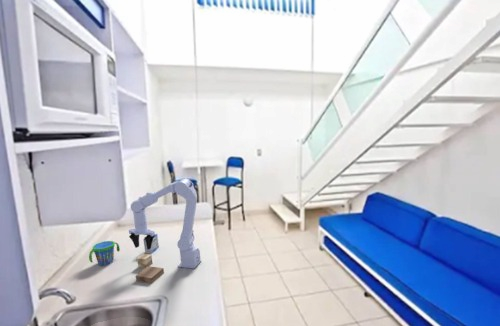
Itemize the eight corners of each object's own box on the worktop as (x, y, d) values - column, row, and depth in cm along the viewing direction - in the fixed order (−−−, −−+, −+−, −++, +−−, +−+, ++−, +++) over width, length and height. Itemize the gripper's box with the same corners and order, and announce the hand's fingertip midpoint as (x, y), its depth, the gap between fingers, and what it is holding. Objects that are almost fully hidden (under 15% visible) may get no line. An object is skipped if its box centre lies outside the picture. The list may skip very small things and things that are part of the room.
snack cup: (116, 254, 164) (114, 237, 163) (124, 259, 157) (122, 241, 156) (87, 265, 153) (84, 247, 152) (94, 271, 146) (91, 252, 145)
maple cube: (152, 263, 151) (151, 254, 150) (146, 268, 146) (145, 259, 145) (144, 262, 152) (143, 253, 152) (138, 267, 148) (137, 258, 147)
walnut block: (164, 273, 140) (163, 268, 140) (152, 284, 132) (151, 278, 132) (148, 271, 143) (148, 266, 143) (136, 281, 135) (135, 275, 135)
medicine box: (152, 253, 163) (150, 239, 161) (144, 253, 164) (143, 238, 162) (159, 247, 170) (157, 233, 169) (152, 247, 171) (150, 233, 170)
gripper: (123, 224, 145) (126, 249, 147) (147, 226, 140) (149, 252, 142) (133, 219, 151) (136, 243, 153) (156, 221, 146) (158, 246, 148)
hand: (143, 247), depth 148 cm, fingers open, 7 cm apart
